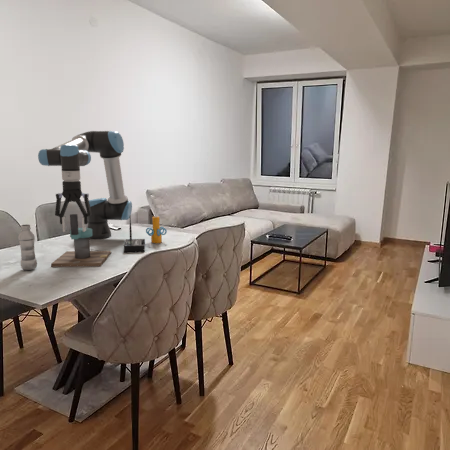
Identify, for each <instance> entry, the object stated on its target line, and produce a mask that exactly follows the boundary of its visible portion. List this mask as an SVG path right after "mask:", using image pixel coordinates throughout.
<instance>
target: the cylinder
mask: <svg viewBox="0 0 450 450" xmlns="http://www.w3.org/2000/svg"><path fill="white" fill-rule="evenodd" d="M151 219H152V227H147V228H146V229H145V233H146V234H147V235H148V236H149V237H150V240H151V241H150V242H151V243H152V244H160V243H162V242H163V238H162V236H165V235H166V234H167V231H168V230H167V229H166V227H165V228H164V226H161V225H160V224H161V223H160V216H158V215H155V216H152V217H151ZM150 231H151V232H150Z"/></svg>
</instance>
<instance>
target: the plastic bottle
mask: <svg viewBox="0 0 450 450" xmlns="http://www.w3.org/2000/svg"><path fill="white" fill-rule="evenodd" d="M20 230H21V231H20V233H19V234H18V242H19V247H20V256H21V257H20V266H21V269H22V270H23V271H33V270H35V269H36V268H37V267H38V261H37V258H36V253H35V242H36V241H35V237H36V236H35V234H34V233H33V231H31V224H22V225H20Z"/></svg>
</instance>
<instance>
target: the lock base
mask: <svg viewBox="0 0 450 450" xmlns="http://www.w3.org/2000/svg"><path fill="white" fill-rule="evenodd" d="M90 243H91V242H90V238H89V237H88V238H78V239H73V247H74V250H73V251H72V250H69V251H67V250H66V251H65V252H63V253H62V254H61V255H60V256H59V257H57V258H56V259H55V260H53V262H51V263H50V266H51V267H52V268H53V267H54V268H56V267H57V268H58V267H59V268H60V267H61V268H62V267H70V268H71V267H101V266H102V265H103V264H104V263H105V262H106V260H107V259H108V258H109V256H110V255H111V253H112V251H111V250H91V244H90Z"/></svg>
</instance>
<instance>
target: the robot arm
mask: <svg viewBox="0 0 450 450" xmlns="http://www.w3.org/2000/svg"><path fill="white" fill-rule="evenodd" d="M124 145H125V143H124V139H123V136H122V135H121V134H120V132H119V131H113V130H112V131H111V130H91V131H85V132H82V133H80V134H77V135H75V136H73V137H72V138H71V140H68V141H66V142H64V143H61V144H59V145H57V146H55V147H53V148H48V149H47V148H43V149H40V150H39V151H38V155H37V157H38V162H39V163H40V165H42V166H44V167H45V166H46V167H61V179H62V184H61V185H62V192H60V193H59V192H58V193H55V197H56V201H55V212H54V215H55V217H59V223H60V225H62V232H63V233H65V232H67V219H66V218H67V217H66V216H65V214H66V211H67V208H68V207H69V206H68V205H69V203H71V202H75V203H76V204H77V206H78V208H79V210H80V212H81V214H82V217H81V222H82V225H81V226H82V227H81V228H83V232H85V231H86V228H91V229H92V236H91V237H89V240H90V239H92V240H93V239H94V240H96V239H97V240H98V239H100V240H101V239H108V238H110V237H112V231H111V228H110V226H109V222H108V221H127V220H130V215H132V212H133V211H132V210H133V203H132V201H131V200H129V199H128V196H127V195H125V189H124V183H123V175H122V174H123V173H122V168H121V163H120V158H121V156H122V153H124V149H125V147H124ZM91 153H99V157H100V158H101V159H102V160H103V165H104V169H105V170H104V171H105V176H106V183H107V189H108V194H109V198H108V199H107V197H105V198H104V197H103V198H102V197H101V198H94V199H90V200H89V195H90V194H89V193H84V192H82V183H81V169H80V167H85V166H87V165H90V163H91V161H92V155H91ZM62 197H63V198H64V202H63V205H61V204H62ZM81 197H82V198H83V200H84V204H83V203H82V199H81ZM84 205H85V207H84ZM61 207H62V208H61ZM86 225H87V227H86Z"/></svg>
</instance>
